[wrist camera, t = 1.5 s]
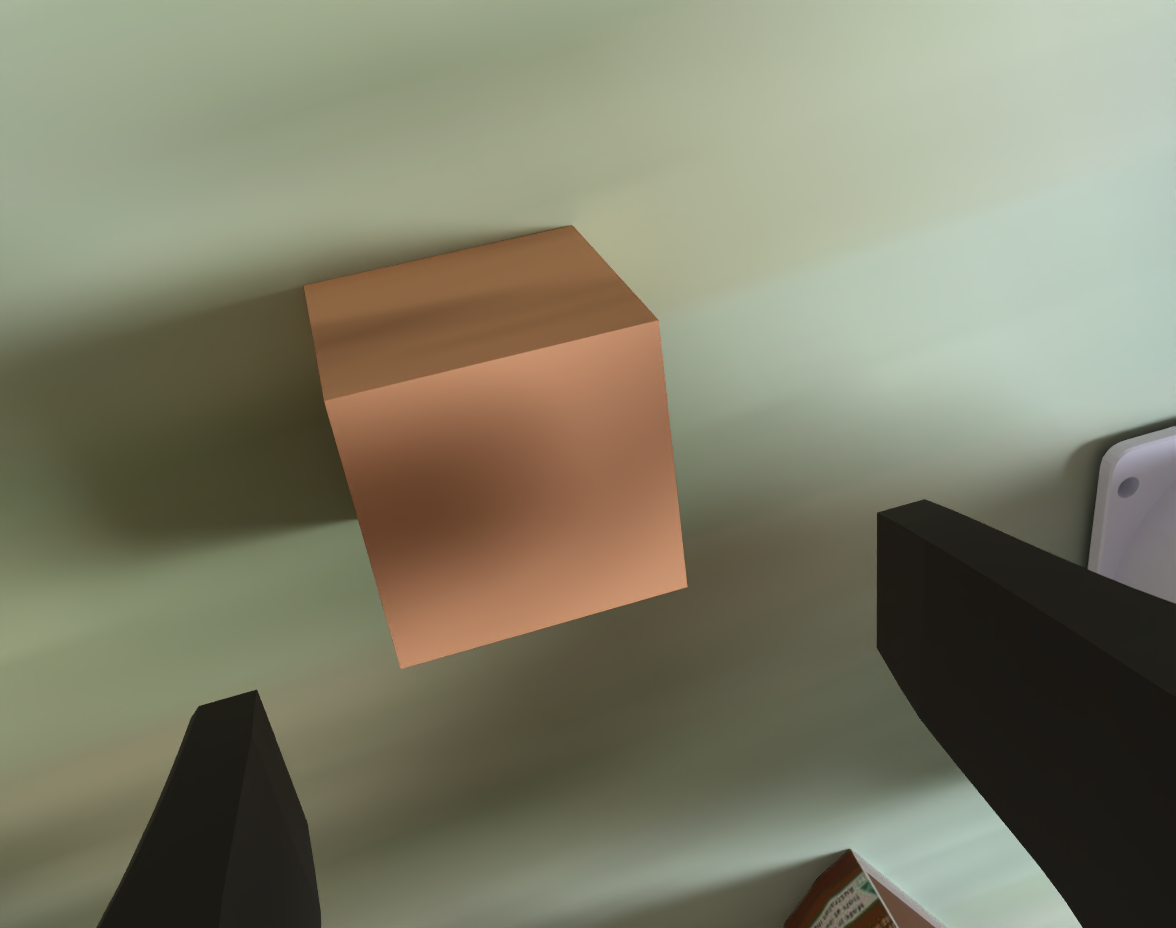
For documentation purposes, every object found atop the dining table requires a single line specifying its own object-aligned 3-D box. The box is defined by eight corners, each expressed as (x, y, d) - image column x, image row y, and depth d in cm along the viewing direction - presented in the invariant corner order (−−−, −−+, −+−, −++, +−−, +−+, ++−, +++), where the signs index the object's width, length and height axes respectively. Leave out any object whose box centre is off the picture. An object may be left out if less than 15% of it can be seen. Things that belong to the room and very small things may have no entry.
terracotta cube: (603, 453, 21) (687, 586, 17) (367, 514, 20) (400, 669, 17) (571, 224, 19) (658, 320, 15) (303, 284, 18) (324, 400, 14)
